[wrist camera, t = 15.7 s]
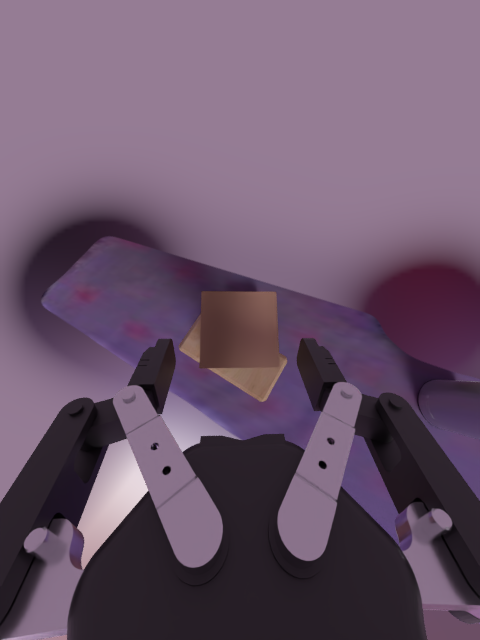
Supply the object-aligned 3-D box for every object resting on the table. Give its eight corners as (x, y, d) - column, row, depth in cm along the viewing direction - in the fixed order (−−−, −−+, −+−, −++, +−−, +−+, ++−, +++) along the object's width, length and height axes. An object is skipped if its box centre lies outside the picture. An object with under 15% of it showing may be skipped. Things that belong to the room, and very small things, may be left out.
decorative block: (199, 357, 43) (175, 347, 24) (215, 332, 44) (205, 304, 25) (247, 389, 42) (263, 406, 23) (262, 363, 44) (290, 359, 24)
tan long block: (257, 321, 25) (276, 291, 15) (258, 367, 24) (279, 367, 14) (212, 321, 25) (201, 291, 15) (211, 368, 23) (199, 368, 14)
